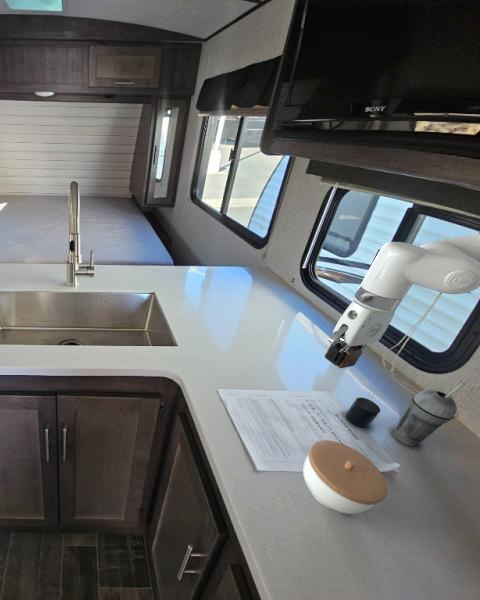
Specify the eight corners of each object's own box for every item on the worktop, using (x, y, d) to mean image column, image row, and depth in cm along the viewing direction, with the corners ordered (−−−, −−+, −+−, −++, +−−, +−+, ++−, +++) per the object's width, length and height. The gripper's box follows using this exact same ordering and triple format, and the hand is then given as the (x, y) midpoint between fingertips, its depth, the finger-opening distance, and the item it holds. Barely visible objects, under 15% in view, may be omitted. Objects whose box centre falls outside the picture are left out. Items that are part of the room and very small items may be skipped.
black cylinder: (354, 411, 88) (365, 395, 84) (373, 426, 83) (385, 410, 80) (340, 414, 86) (351, 399, 83) (358, 430, 82) (370, 414, 79)
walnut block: (337, 354, 83) (345, 340, 81) (354, 365, 79) (363, 351, 77) (323, 356, 82) (331, 342, 80) (340, 368, 78) (348, 354, 76)
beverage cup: (388, 420, 85) (433, 364, 75) (425, 438, 81) (478, 381, 70) (384, 437, 81) (432, 379, 70) (423, 457, 76) (480, 398, 66)
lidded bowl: (317, 525, 63) (343, 495, 57) (282, 464, 73) (301, 433, 68) (380, 526, 63) (412, 496, 57) (336, 465, 74) (359, 434, 68)
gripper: (365, 311, 66) (326, 375, 75) (423, 302, 70) (379, 365, 80) (332, 293, 72) (300, 355, 82) (387, 286, 76) (350, 346, 86)
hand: (339, 359), depth 80 cm, fingers closed on walnut block, 4 cm apart
